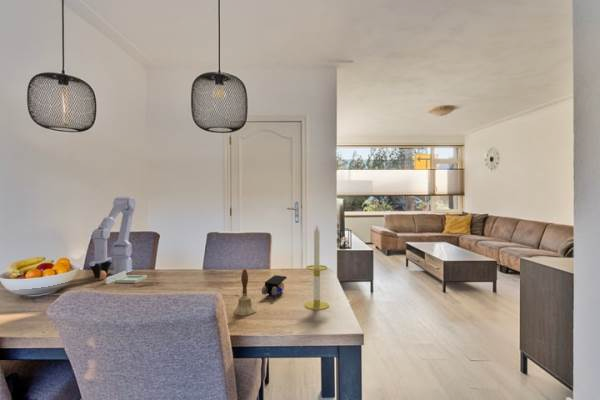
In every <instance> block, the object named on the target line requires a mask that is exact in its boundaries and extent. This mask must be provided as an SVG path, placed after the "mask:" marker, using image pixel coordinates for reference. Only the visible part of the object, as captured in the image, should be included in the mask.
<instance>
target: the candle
mask: <svg viewBox="0 0 600 400" xmlns="http://www.w3.org/2000/svg"><path fill="white" fill-rule="evenodd" d="M305 268H306V270H309V271H313V300H312V301H308V302H305V303H304V308H306V309H309V310H313V311H322V310H326V309H329V308H330V305H329V303H328V302H325V301H322V300H321V271H326V270H327V269H328V267H327V266H326V265H321V264H320V229H319V228H318V225H315V229H314V231H313V264H311V265H306V267H305Z"/></svg>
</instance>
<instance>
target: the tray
mask: <svg viewBox="0 0 600 400" xmlns="http://www.w3.org/2000/svg"><path fill="white" fill-rule="evenodd" d="M147 278H148V275H146V274H145V275H144V274H142V275H140V274H139V275H137V274H135V275H134V274H132V275H131V274H128V275H127V274H126V276H125V277H122V278H119V279H117V280H116V281H115V283H118V284H122V283H124V284H137V283H139V282H142V281H144V280H146V279H147Z"/></svg>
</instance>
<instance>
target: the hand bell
mask: <svg viewBox="0 0 600 400" xmlns="http://www.w3.org/2000/svg"><path fill="white" fill-rule="evenodd" d="M240 278H241V284H242V285H241V286H242V295H241V296H240V297H239V298H238V302H237V307H236V308H235V309H234V310H233V314H234V315H236V316H244V317H245V316H251V315H253V314H255V313H256V312H257V310H256V308H255V307H254V306H253V304H252V298H251V296H249V295H248V282H249V275H248V271H247V269H245V268H244V269H242V273H241V277H240Z"/></svg>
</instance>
